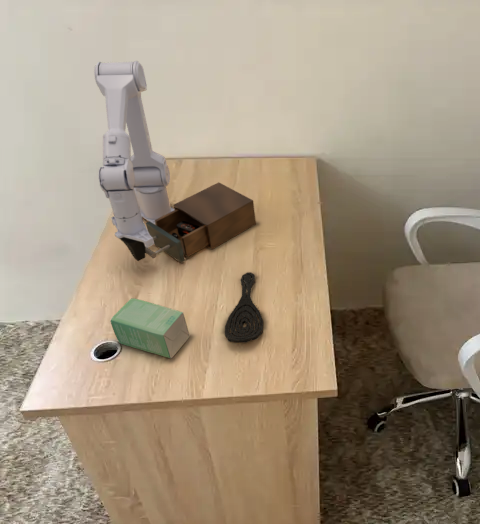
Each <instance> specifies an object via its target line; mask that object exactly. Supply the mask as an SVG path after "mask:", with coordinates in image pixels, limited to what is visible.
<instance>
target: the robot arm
mask: <svg viewBox="0 0 480 524" xmlns="http://www.w3.org/2000/svg"><path fill="white" fill-rule="evenodd" d="M93 68H94V69H93V70H94V71H93V75H94V80H95V84H96V86H97V88H98V90H99V92H100V93H101V95H102V96H103V97H105V99H104V100H105V109H106V119H107V131H105V132H104V134H103V135H102V166H100V167H99V169H98V182H99V187H100V189H101V190H102V191H103V193H104V196H105V198H106V199H108V200H109V203H110V206H111V211H112V213H113V216H112V217H110V219H111V224H112V226H115V228H116V230H117V231H116V232H114V236H115V237H116V238H117V239H118V240H120V241H121V242H122V243H123V244H124V245H125V246H126V247H127V249H128V250H129V253H130V254H131V255H132V257H133V259H134V260H136V261H137V262H140V261H141V260H143V259H145V258H146V253H145V249H146V247H147V248H150V247H152V246H155V245H154V240H153V237H151V236H150V234H149V232H148V230H147V226H146V223H144V220H143V219H145V220H146V221H147V222H149V221H150V222H152V223H153V224H155V220H156V219H158V218H160V217H162V216H164V215H166V214H168V213H170V212H172V211H174V207H172V206H171V203H170V198H169V193H168V189H167V187H168V186H169V185H170V181H171V173H170V168H169V164H168V163H167V159H166V158H165V156H163V154H160V153H158V152H156V151H154V150H153V147H152V146H153V145H152V142H151V138H150V133H149V127H148V123H147V118H146V114H145V110H144V109H145V108H144V104H143V99H142V93H143V92H145V91H147V90H148V86H147V85H148V84H147V80H146V75H145V71H144V67H143V65H142V64H141V63H140V62H139V61H138V60H134V61H110V62H109V61H106V62H103V61H102V62H101V61H97V62H96V63H95V65H94V67H93ZM126 128H127V132H128V133H127V132H126ZM131 149H132V150H131ZM131 151H132V153H133V154H132V153H131ZM131 154H132V155H131ZM155 225H156V224H155Z"/></svg>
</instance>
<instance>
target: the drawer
mask: <svg viewBox="0 0 480 524" xmlns="http://www.w3.org/2000/svg"><path fill="white" fill-rule="evenodd" d="M181 221H186V222H188V223H191V224H194V225H197V226H200V227H199V228H198V229H196V230H194V231H192V232H190V233H188V234H186V235H185V236H183V237H182V236H179V235H178V230H177V226H176V225H177V224H179V223H180V222H181ZM155 224H156V225H155ZM155 224H153V223H152V222H150V221H147V222H145V226H146V228H147V230H148V232H149V234H150V236H151V237H153V240H154V245H153V246H156V247H157V248H159V249H158V250H156V251H153V250H152V249H151V248H150V247H148V248H147V247H146V249H145V255H147V256H148V257H150V258H152V259H155V258H156V257H157V255H159V254H160V253H162V252H165V253H166V254H167V255H169V256H170V257H171V258H173V259H175V260H176V261H178V262H179V263H183V262H185V261H186V258H185V257H188V258H189V257H190V256H192V255H194V254H195V253H197V252H200V250H202V249H204V248H205V247H207V245H209V244H210V242H209V237H208V232H207V226H205V225H204V224H202V223H200V222H199V221H197V220H195V219H194V218H192V217H190V216H189V215H187V214H185V213H184V212H182V211H180V210H179V209H176V210H174V211H172V212H170V213H168V214H166V215H164V216H162V217H160V218H158V219H156V220H155ZM172 233H176V234H177V235H178V236H179V238H178V239H177V238H175V237H174V236H172Z"/></svg>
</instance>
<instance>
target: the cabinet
mask: <svg viewBox="0 0 480 524" xmlns="http://www.w3.org/2000/svg"><path fill="white" fill-rule="evenodd" d="M173 209H174V210H176V209H179V210H180V211H182V212H184V213H185V214H187V215H189V216H190V217H192V218H194V219H195V220H197V221H199V222H200V223H202V224H204V225H205V226H207V232H208V237H209V242H210V244H209V245H207V246H206V247H207V248H209V249H210V250H214V249H215V248H218V247H219V246H221V245H222V244H225V243H226V242H227V241H229V240H231V239H233V238H235V237H236V236H238V235H240V234H241V233H243V232H244V231H245V232H246V230H248V229H251V228H252V227H253V226H255V225H257V221H256V213H255V204H254V200H253V198H252V199H251V198H250V197H248V196H246V195H244V194H242V193H240V192H238V191H236V190H235V189H233V188H231V187H229V186H227V185H225V184H223V183H221V182H219V181H218V182H217V183H214V184H212V185H210V186H208V187H207V188H204V189H203V190H201V191H198V192H196V193H194V194H191V195H190V196H188V197H186V198H184V199H182V200H180V201H178V202H176V203H174V204H173Z"/></svg>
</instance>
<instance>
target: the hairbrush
mask: <svg viewBox="0 0 480 524" xmlns="http://www.w3.org/2000/svg"><path fill="white" fill-rule="evenodd" d="M255 282H256V276H255V274H254V273H252V272H249V271H248V272H245V273H244V274H242V275H241V278H240V284H241V297H240V298H239V300H238V303H237V304H236V305H235V306H234V308H233V310H232V311H231V312H230V313H229V316H228V317H227V320H226V323H225V325H224V336H225V338H226V340H227V342H230V343H235V344H246V343H249V342H252V341H255V340H257V339H259V337H260V336H261V335H263V333H264V332H263V331H264V319H263V316H262V314H261V311H260V310H259V308H258V307H257V305H256V304H255V302H254V301H253V299H252V297H251V295H252V289H253V287H254V285H255ZM244 325H245V326H244Z"/></svg>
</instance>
